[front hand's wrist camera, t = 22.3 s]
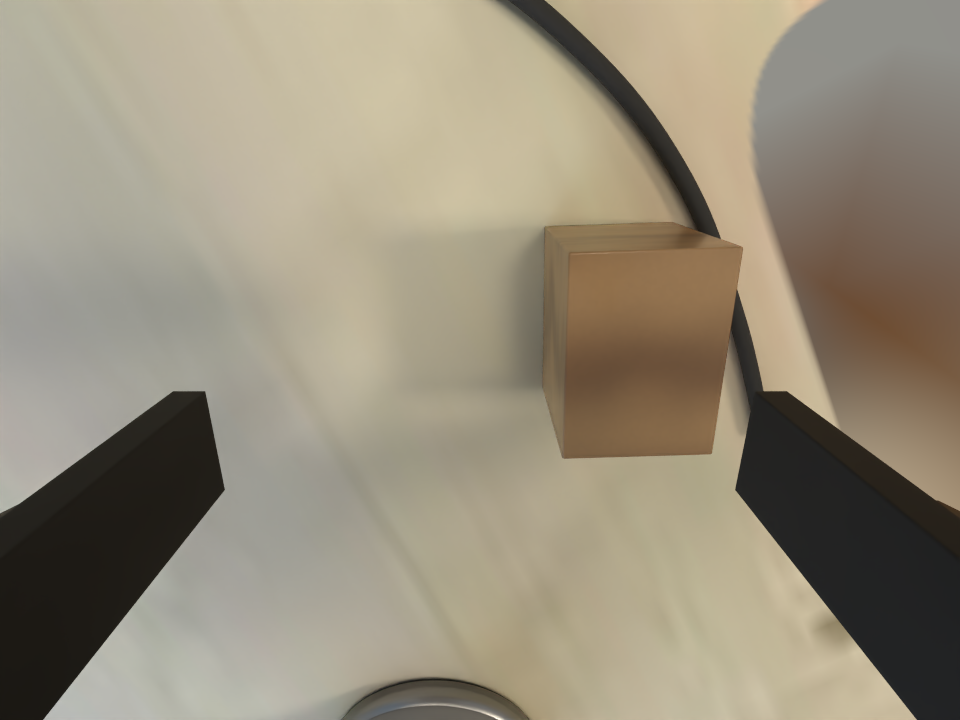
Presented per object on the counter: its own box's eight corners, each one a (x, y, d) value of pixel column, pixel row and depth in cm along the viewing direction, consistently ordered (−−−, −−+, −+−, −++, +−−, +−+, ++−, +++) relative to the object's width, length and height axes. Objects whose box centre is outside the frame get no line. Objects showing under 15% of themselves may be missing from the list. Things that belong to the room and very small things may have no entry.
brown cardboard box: (544, 226, 25) (568, 252, 19) (673, 221, 25) (744, 246, 19) (542, 387, 28) (562, 459, 22) (657, 384, 28) (712, 455, 22)
